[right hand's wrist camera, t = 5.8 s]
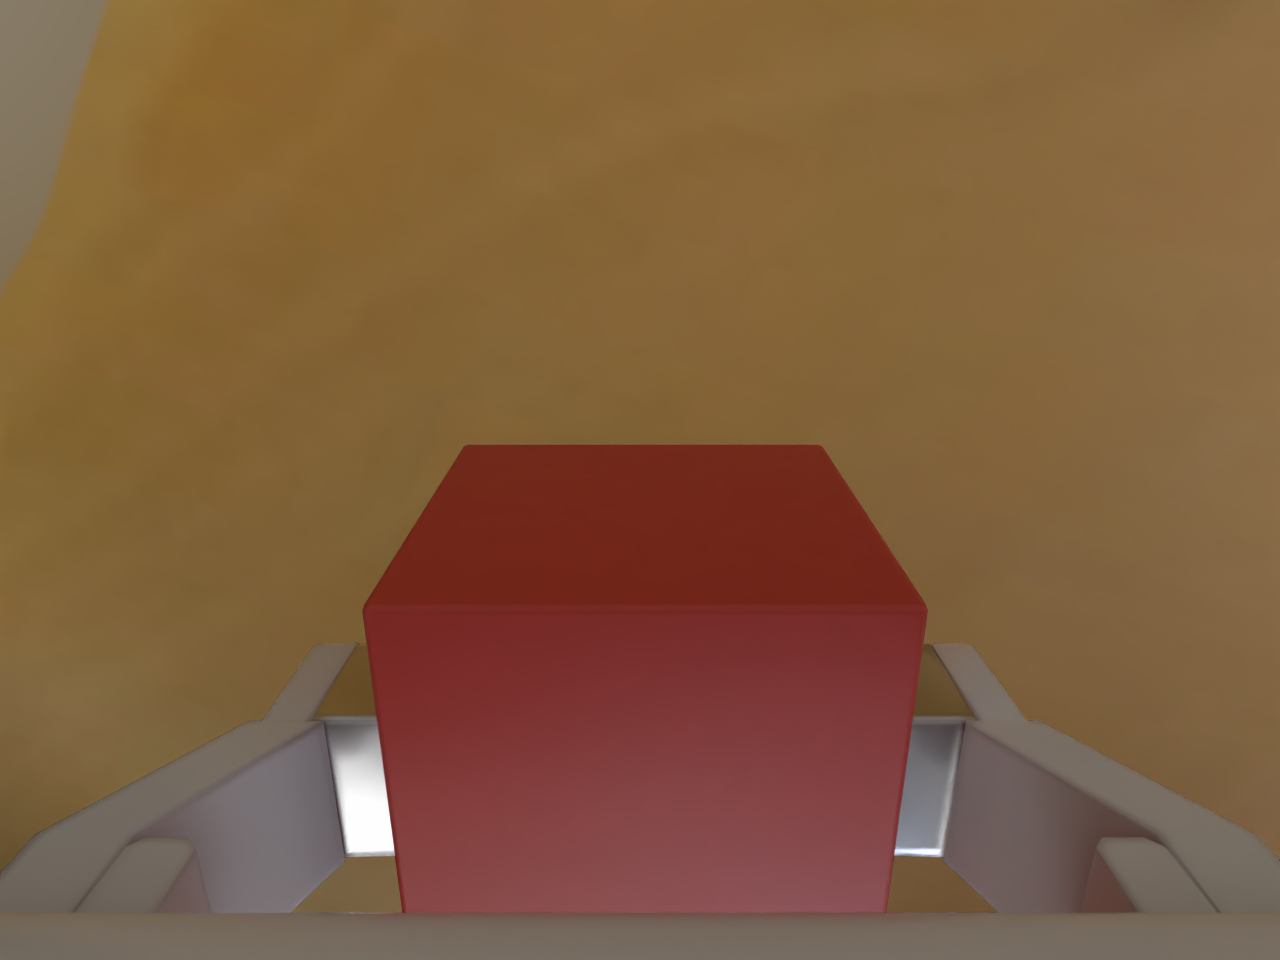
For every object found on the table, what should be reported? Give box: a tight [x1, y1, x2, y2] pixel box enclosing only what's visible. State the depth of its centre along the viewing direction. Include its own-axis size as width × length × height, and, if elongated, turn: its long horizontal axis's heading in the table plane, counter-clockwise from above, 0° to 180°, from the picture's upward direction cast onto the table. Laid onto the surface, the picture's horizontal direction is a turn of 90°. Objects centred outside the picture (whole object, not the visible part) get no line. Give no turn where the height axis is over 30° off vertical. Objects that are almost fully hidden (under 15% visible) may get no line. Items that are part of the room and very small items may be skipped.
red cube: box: [362, 445, 928, 913], centre depth 10 cm, size 5×5×4 cm
